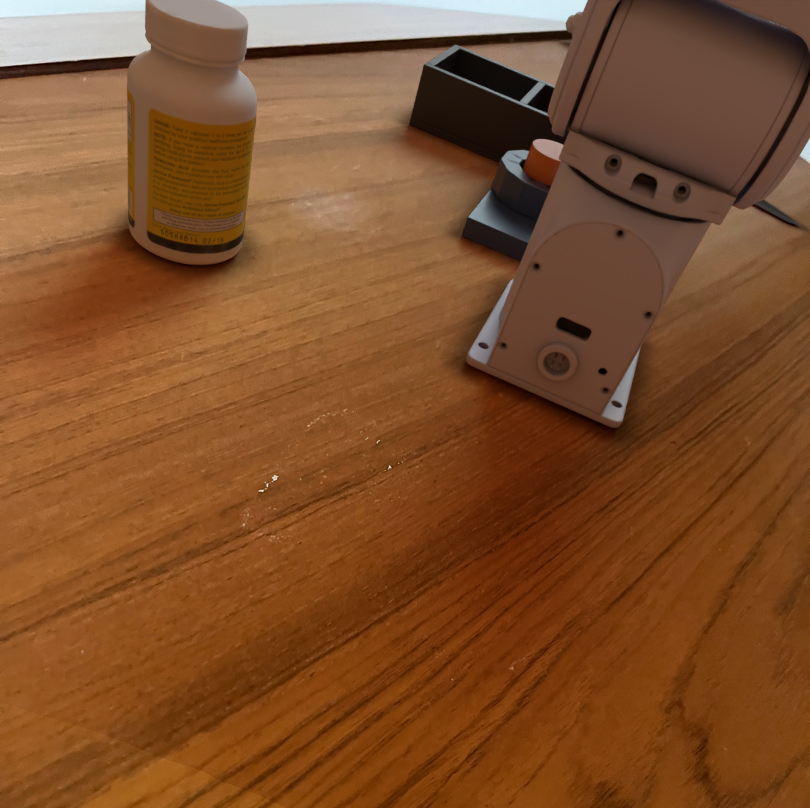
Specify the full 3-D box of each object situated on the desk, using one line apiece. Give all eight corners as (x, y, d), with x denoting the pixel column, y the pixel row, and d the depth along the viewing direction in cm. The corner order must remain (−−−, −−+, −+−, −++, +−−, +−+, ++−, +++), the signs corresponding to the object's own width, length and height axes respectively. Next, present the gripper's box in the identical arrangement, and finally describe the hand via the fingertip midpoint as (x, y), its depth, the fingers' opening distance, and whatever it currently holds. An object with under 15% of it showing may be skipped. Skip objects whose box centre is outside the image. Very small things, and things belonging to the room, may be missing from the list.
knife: (799, 230, 62) (801, 218, 64) (802, 225, 62) (805, 213, 64) (629, 151, 64) (637, 142, 66) (632, 145, 64) (639, 137, 66)
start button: (564, 197, 46) (576, 168, 45) (517, 176, 46) (527, 147, 45) (573, 181, 48) (585, 153, 47) (528, 161, 49) (538, 133, 47)
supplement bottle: (264, 256, 38) (293, 35, 31) (173, 279, 34) (181, 37, 27) (198, 203, 39) (210, -17, 32) (104, 220, 36) (96, -21, 29)
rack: (594, 203, 54) (620, 146, 51) (408, 124, 55) (423, 64, 52) (609, 171, 59) (633, 118, 57) (440, 99, 60) (455, 44, 57)
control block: (583, 288, 45) (606, 241, 42) (460, 235, 45) (476, 186, 43) (607, 232, 51) (627, 188, 49) (499, 186, 52) (515, 141, 49)
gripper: (924, -194, 43) (779, 67, 53) (690, -284, 44) (589, -11, 53) (945, -200, 38) (781, 88, 48) (681, -302, 39) (572, 3, 49)
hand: (679, 37), depth 50 cm, fingers open, 7 cm apart
